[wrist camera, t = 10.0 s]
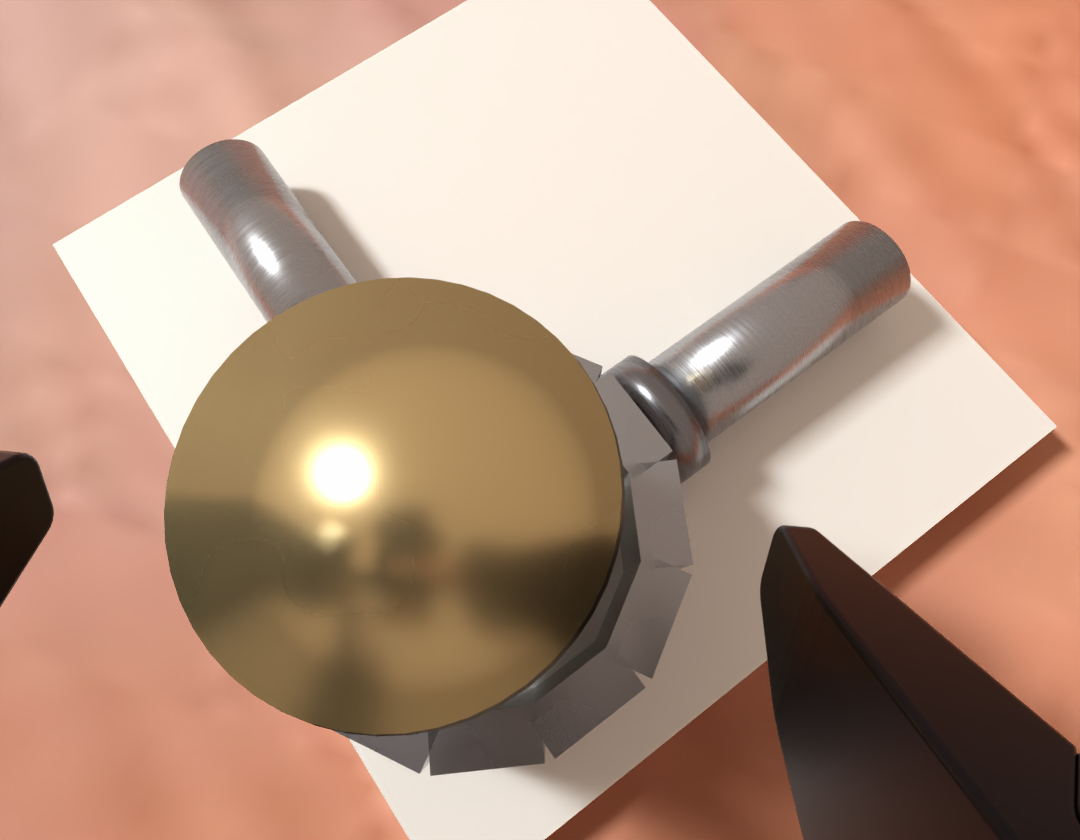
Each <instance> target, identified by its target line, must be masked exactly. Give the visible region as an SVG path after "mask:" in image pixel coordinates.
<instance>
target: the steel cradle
mask: <svg viewBox="0 0 1080 840" xmlns="http://www.w3.org/2000/svg"><path fill="white" fill-rule="evenodd" d="M179 185H180V191H181V194H182V196H183V197H184V199H185V200H186V202H187V203H188V205H189V206H190V208H191V209H192V211H193V212H194V214H195V215H196V217H197V218H198V220H199V221H200V223H201V224H202V226H203V227H204V229H205V230H206V232H207V233H208V235H209V236H210V238H211V239H212V241H213V242H214V244H215V245H216V247H217V248H218V250H219V251H220V253H221V254H222V256H223V257H224V259H225V260H226V262H227V263H228V265H229V266H230V268H231V269H232V271H233V272H234V274H235V275H236V277H237V278H238V280H239V281H240V283H241V284H242V286H243V287H244V289H245V290H246V292H247V293H248V295H249V296H250V298H251V299H252V301H253V302H254V304H255V305H256V306H257V308H258V309H259V311H260V312H261V314H262V315H263V317H264V318H265V320H266V321H267V322H269V321H270V320H271V319H273V318H274V317H276V316H277V315H279V314H281V313H283V312H284V311H286V310H288V309H290V308H291V307H293V306H295V305H297V304H298V303H300V302H302V301H305V300H307V299H309V298H312V297H314V296H316V295H319V294H321V293H323V292H326V291H329V290H332V289H336V288H339V287H342V286H346V285H349V284H353V283H357V282H356V280H355V279H354V278H353V276H352V275H351V273H350V272H349V271H348V269H347V268H346V266H345V265H344V264H343V262H342V261H341V260H340V258H339V257H338V255H337V254H336V253H335V251H334V250H333V248H332V247H331V246H330V244H329V243H328V241H327V240H326V239H325V237H324V236H323V234H322V233H321V232H320V230H319V229H318V228H317V226H316V225H315V223H314V222H313V221H312V219H311V218H310V216H309V215H308V214H307V212H306V211H305V209H304V208H303V207H302V205H301V204H300V202H299V201H298V200H297V198H296V197H295V196H294V194H293V193H292V191H291V190H290V189H289V187H288V186H287V184H286V183H285V182H284V180H283V179H282V177H281V176H280V175H279V173H278V172H277V170H276V169H275V168H274V166H273V165H272V164H271V162H270V161H269V159H268V158H267V157H266V155H265V154H264V152H263V151H262V150H261V149H260V148H259V147H258V146H257V145H255V144H253V143H251V142H248V141H245V140H239V139H231V140H223V141H219V142H216V143H213V144H211V145H209V146H207V147H205V148H203V149H201V150H200V151H198V152H197V153H196V154H195V155H194V156H193V157H192V158H191V159H190V160H189V161H188V162H187V164H186V165H185V167H184V168H183V170H182V173H181V176H180V182H179ZM910 283H911V276H910V270H909V266H908V263H907V261H906V258H905V256H904V254H903V253H902V251H901V249H900V248H899V247H898V245H897V244H896V243H895V242H894V241H893V239H892V238H890V237H889V236H888V235H887V234H886V233H885V232H884V231H882V230H881V229H879V228H878V227H876V226H874V225H872V224H869V223H867V222H862V221H850V222H847V223H845V224H843V225H842V226H840V227H839V228H837V229H836V230H834V231H833V232H832V233H830V234H829V235H827V236H826V237H825V238H823V239H822V240H820V241H819V242H817V243H816V244H815V245H813V246H812V247H810V248H809V249H808V250H806V251H805V252H803V253H802V254H801V255H799V256H798V257H796V258H795V259H793V260H792V261H791V262H789V263H788V264H786V265H785V266H784V267H782V268H781V269H779V270H778V271H776V272H775V273H774V274H772V275H771V276H769V277H768V278H767V279H765V280H764V281H762V282H761V283H759V284H758V285H757V286H755V287H754V288H752V289H751V290H750V291H748V292H747V293H745V294H744V295H743V296H741V297H740V298H738V299H737V300H735V301H734V302H733V303H731V304H730V305H728V306H727V307H726V308H724V309H723V310H721V311H720V312H718V313H717V314H716V315H714V316H713V317H711V318H710V319H709V320H707V321H706V322H704V323H703V324H701V325H700V326H699V327H697V328H696V329H694V330H693V331H692V332H690V333H689V334H687V335H686V336H685V337H683V338H682V339H680V340H679V341H677V342H676V343H675V344H673V345H672V346H670V347H669V348H668V349H666V350H665V351H663V352H662V353H660V354H659V355H658V356H656V357H655V358H653V359H652V360H651V361H649V362H646V361H645V360H643V359H641V358H639V357H637V356H634V355H630V356H627V357H626V358H624V359H623V360H622V361H620V362H619V363H617V364H616V365H614V366H613V367H612V368H610V369H609V370H607V371H606V372H604V373H603V374H602V375H601V372H602V367H603V366H601V365H599V364H596V363H594V362H591V361H589V360H586V359H584V358H582V357H579V356H577V355H574V354H572V353H571V354H572V355H573V356H574V357H575V358H576V359H577V360H578V361H579V363H580V364H581V366H582V367H583V368H584V370H585V371H586V373H587V374H588V376H589V377H590V379H591V380H592V382H593V383H594V385H595V386H596V388H597V390H598V392H599V394H600V396H601V398H602V400H603V402H604V404H605V406H606V408H607V410H608V413H609V416H610V419H611V421H612V424H613V427H614V430H615V433H616V436H617V440H618V445H619V449H620V454H621V459H622V464H623V474H624V489H625V503H624V520H623V529H622V534H621V539H620V547H621V555H622V562H623V570H624V572H623V575H622V577H621V579H620V582H619V584H618V587H617V589H616V592H615V594H614V597H613V599H612V601H611V604H610V606H609V609H608V611H607V614H606V616H605V619H604V621H603V623H602V626H601V628H600V631H599V633H598V636H597V638H596V641H595V642H593V643H592V644H591V645H590V646H588V647H587V648H586V649H584V650H583V651H582V652H580V653H579V654H578V655H577V656H575V657H574V658H573V659H571V660H570V661H569V662H567V663H566V664H565V665H563V666H562V667H561V668H560V669H558V670H557V671H556V672H554V673H553V674H552V675H550V676H549V677H548V678H547V679H545V680H544V681H543V682H541V683H540V684H539V685H537V686H536V687H535V688H527V689H525V690H524V691H522V692H521V693H519V694H518V695H516V696H515V697H514V698H512V699H511V700H509V701H508V702H506V703H505V704H503V705H501V706H499V707H497V708H495V709H493V710H491V711H489V712H487V713H485V714H483V715H481V716H479V717H477V718H474V719H472V720H469V721H466V722H463V723H460V724H457V725H454V726H451V727H448V728H445V729H441V730H436V731H430V732H425V733H419V734H414V735H402V736H368V735H359V734H349V733H343V732H339V731H335V730H333V731H335V732H337V733H339V734H341V735H343V736H345V737H347V738H349V739H351V740H353V741H355V742H357V743H359V744H361V745H363V746H365V747H367V748H369V749H371V750H373V751H375V752H377V753H379V754H381V755H383V756H385V757H387V758H389V759H391V760H393V761H395V762H397V763H399V764H401V765H403V766H405V767H407V768H409V769H411V770H413V771H415V772H417V773H419V774H420V773H421V772H422V771H423V769H424V768H425V767H426V766H427V765H428V763H429V762H430V776H434V775H444V774H453V773H462V772H471V771H480V770H489V769H498V768H507V767H517V766H526V765H535V764H544V763H545V750H546V746H547V748H548V749H549V751H550V752H551V754H552V755H553V757H554V758H555V759H556V758H557V757H558V756H560V755H561V754H562V753H564V752H565V751H566V750H567V749H569V748H570V747H571V746H572V745H574V744H575V743H576V742H577V741H579V740H580V739H581V738H583V737H584V736H585V735H586V734H588V733H589V732H590V731H591V730H593V729H594V728H595V727H597V726H598V725H599V724H600V723H602V722H603V721H604V720H605V719H607V718H608V717H609V716H610V715H612V714H613V713H614V712H616V711H617V710H618V709H619V708H621V707H622V706H623V705H624V704H626V703H627V702H628V701H629V700H631V699H632V698H633V697H635V696H636V695H637V694H638V693H640V692H641V691H642V690H643V689H645V688H646V687H645V686H644V685H643V683H642V682H641V681H640V679H639V678H638V676H637V675H636V674H635V672H634V671H636V672H638V673H640V674H642V675H644V676H647V677H649V678H651V679H652V678H653V675H654V673H655V670H656V667H657V665H658V662H659V660H660V657H661V654H662V652H663V649H664V647H665V644H666V641H667V639H668V636H669V634H670V631H671V628H672V626H673V623H674V621H675V618H676V615H677V613H678V610H679V608H680V605H681V602H682V600H683V597H684V595H685V592H686V589H687V587H688V584H689V582H690V579H691V576H692V574H690V573H688V572H685V571H683V570H681V569H682V568H684V567H687V566H690V565H693V560H692V553H691V547H690V541H689V534H688V528H687V521H686V515H685V509H684V502H683V496H682V490H681V484H682V483H683V482H684V481H686V480H687V479H689V478H690V477H691V476H693V475H694V474H695V473H697V472H698V471H699V470H701V469H702V468H703V467H705V466H706V465H707V464H708V463H709V462H710V449H709V445H708V442H709V441H711V440H712V439H714V438H715V437H716V436H718V435H719V434H720V433H722V432H723V431H724V430H726V429H727V428H728V427H730V426H731V425H733V424H734V423H735V422H737V421H738V420H739V419H741V418H742V417H743V416H745V415H746V414H747V413H749V412H750V411H751V410H753V409H754V408H756V407H757V406H758V405H760V404H761V403H762V402H764V401H765V400H766V399H768V398H769V397H770V396H772V395H773V394H774V393H776V392H777V391H779V390H780V389H781V388H783V387H784V386H785V385H787V384H788V383H789V382H791V381H792V380H793V379H795V378H796V377H798V376H799V375H800V374H802V373H803V372H804V371H806V370H807V369H808V368H810V367H811V366H812V365H814V364H815V363H816V362H818V361H819V360H821V359H822V358H823V357H825V356H826V355H827V354H829V353H830V352H831V351H833V350H834V349H835V348H837V347H838V346H840V345H841V344H842V343H844V342H845V341H846V340H848V339H849V338H850V337H852V336H853V335H854V334H856V333H857V332H858V331H860V330H861V329H863V328H864V327H865V326H867V325H868V324H869V323H871V322H872V321H873V320H875V319H876V318H877V317H879V316H880V315H882V314H883V313H884V312H886V311H887V310H888V309H890V308H891V307H892V306H894V305H895V304H896V303H898V302H899V301H900V300H902V299H903V298H904V297H905V296H906V295H907V293H908V291H909V288H910ZM633 670H634V671H633Z"/></svg>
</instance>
